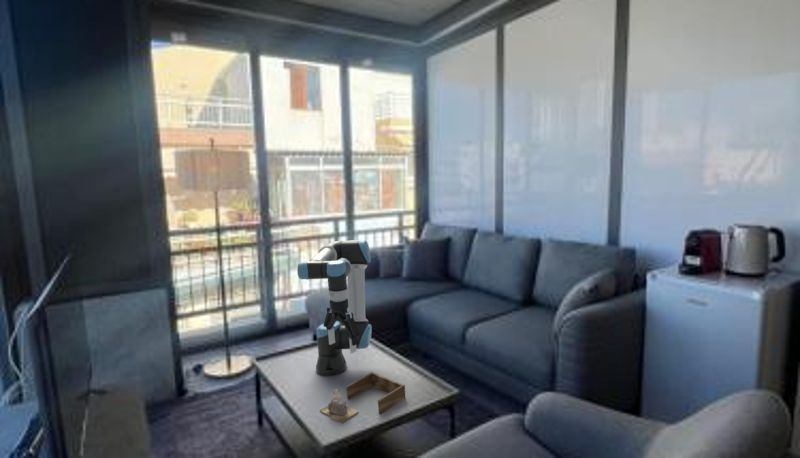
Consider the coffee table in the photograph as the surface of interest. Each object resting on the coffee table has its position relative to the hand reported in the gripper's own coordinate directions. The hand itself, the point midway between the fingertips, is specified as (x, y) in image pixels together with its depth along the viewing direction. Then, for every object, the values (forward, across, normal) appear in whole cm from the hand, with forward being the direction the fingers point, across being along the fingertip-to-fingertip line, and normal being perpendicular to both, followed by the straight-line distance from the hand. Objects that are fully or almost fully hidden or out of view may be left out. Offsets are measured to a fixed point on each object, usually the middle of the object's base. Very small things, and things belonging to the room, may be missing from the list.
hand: (342, 347), depth 183 cm
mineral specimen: (+25, +2, -6) cm, 26 cm away
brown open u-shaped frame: (+25, +7, +10) cm, 28 cm away
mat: (+25, +2, -6) cm, 26 cm away
